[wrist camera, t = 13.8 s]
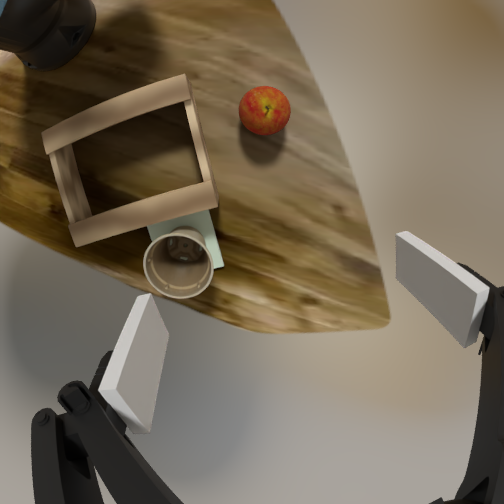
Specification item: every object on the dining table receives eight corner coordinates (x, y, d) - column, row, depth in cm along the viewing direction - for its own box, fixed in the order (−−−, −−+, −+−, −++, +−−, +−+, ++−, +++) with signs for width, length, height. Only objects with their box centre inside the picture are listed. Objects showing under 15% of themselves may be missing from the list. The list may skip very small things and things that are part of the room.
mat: (147, 222, 45) (146, 223, 44) (207, 205, 45) (207, 207, 44) (166, 277, 49) (165, 279, 48) (223, 264, 49) (224, 266, 48)
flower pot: (166, 276, 48) (156, 304, 40) (148, 223, 44) (133, 243, 36) (221, 264, 48) (221, 291, 40) (206, 208, 44) (203, 225, 36)
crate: (63, 131, 38) (41, 132, 31) (190, 82, 38) (184, 73, 31) (93, 232, 44) (76, 247, 38) (218, 196, 44) (218, 206, 38)
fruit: (289, 96, 40) (303, 89, 32) (279, 139, 42) (290, 140, 35) (243, 85, 38) (247, 75, 31) (232, 129, 41) (234, 128, 34)
